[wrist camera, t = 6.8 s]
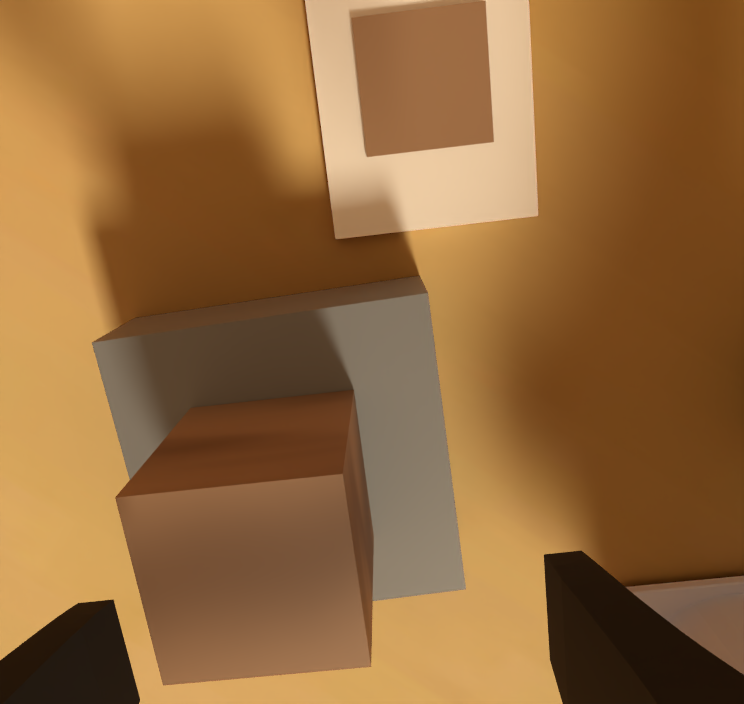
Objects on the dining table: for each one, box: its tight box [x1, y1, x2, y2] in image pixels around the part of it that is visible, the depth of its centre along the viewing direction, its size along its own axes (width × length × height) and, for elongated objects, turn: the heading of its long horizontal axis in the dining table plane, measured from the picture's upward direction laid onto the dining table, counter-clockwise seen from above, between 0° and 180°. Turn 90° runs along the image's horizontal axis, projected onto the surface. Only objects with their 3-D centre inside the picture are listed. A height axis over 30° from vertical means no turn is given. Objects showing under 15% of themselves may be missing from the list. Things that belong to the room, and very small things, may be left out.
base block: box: [92, 276, 466, 601], centre depth 19 cm, size 9×9×4 cm
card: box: [305, 0, 538, 239], centre depth 17 cm, size 8×6×1 cm
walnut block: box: [115, 390, 374, 685], centre depth 15 cm, size 4×4×5 cm
